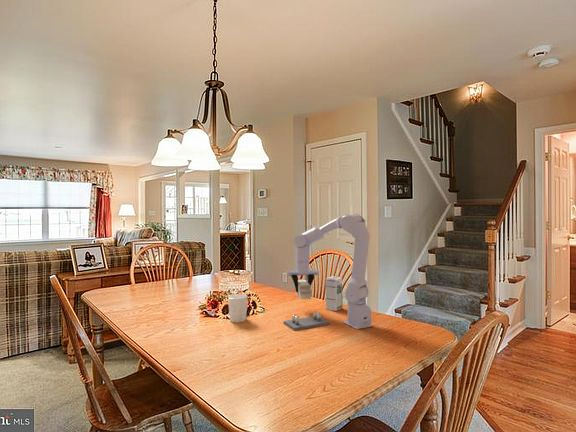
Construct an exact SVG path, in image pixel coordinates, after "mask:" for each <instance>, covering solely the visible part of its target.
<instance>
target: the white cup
mask: <svg viewBox="0 0 576 432" xmlns="http://www.w3.org/2000/svg"><path fill="white" fill-rule="evenodd" d="M227 301H228V314H229V321H230V322H231V323H242V322H246V321H247V314H248V313H247V311H248V295H247V294H244V293H234V294H229V295H228V296H227Z"/></svg>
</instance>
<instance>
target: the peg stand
mask: <svg viewBox="0 0 576 432" xmlns="http://www.w3.org/2000/svg"><path fill="white" fill-rule="evenodd" d="M283 324H284V325H285V326H286V327H288V328H290V329H291V330H293V331H298V330H305V329H310V328H317V327H323V326H328V325H330V321H328V320H326V318H325V319H324V318H323V317H322V313H321V312H318V310H315V311H314V310H313V316H308V317H302V318H300V316H298V315H297V314H296V313H295V314H292V315H291V319H289V320H283Z"/></svg>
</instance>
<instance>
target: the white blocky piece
mask: <svg viewBox="0 0 576 432" xmlns="http://www.w3.org/2000/svg"><path fill="white" fill-rule="evenodd" d="M294 292H295V294H296V295H297V296H298V298H299V300H311V298H312V295H311V293H312V285H311V286H310V284H309V283H308V282H307V279H303V278H301V279H300V278H298V292H296V289H295V288H294Z"/></svg>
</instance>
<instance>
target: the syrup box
mask: <svg viewBox="0 0 576 432" xmlns="http://www.w3.org/2000/svg"><path fill="white" fill-rule="evenodd" d="M325 309H326V310H328V311H335V312H337V311H340V310H341V309H343V277H341V276H333V275H331V276H329V277H326V278H325Z"/></svg>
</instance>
